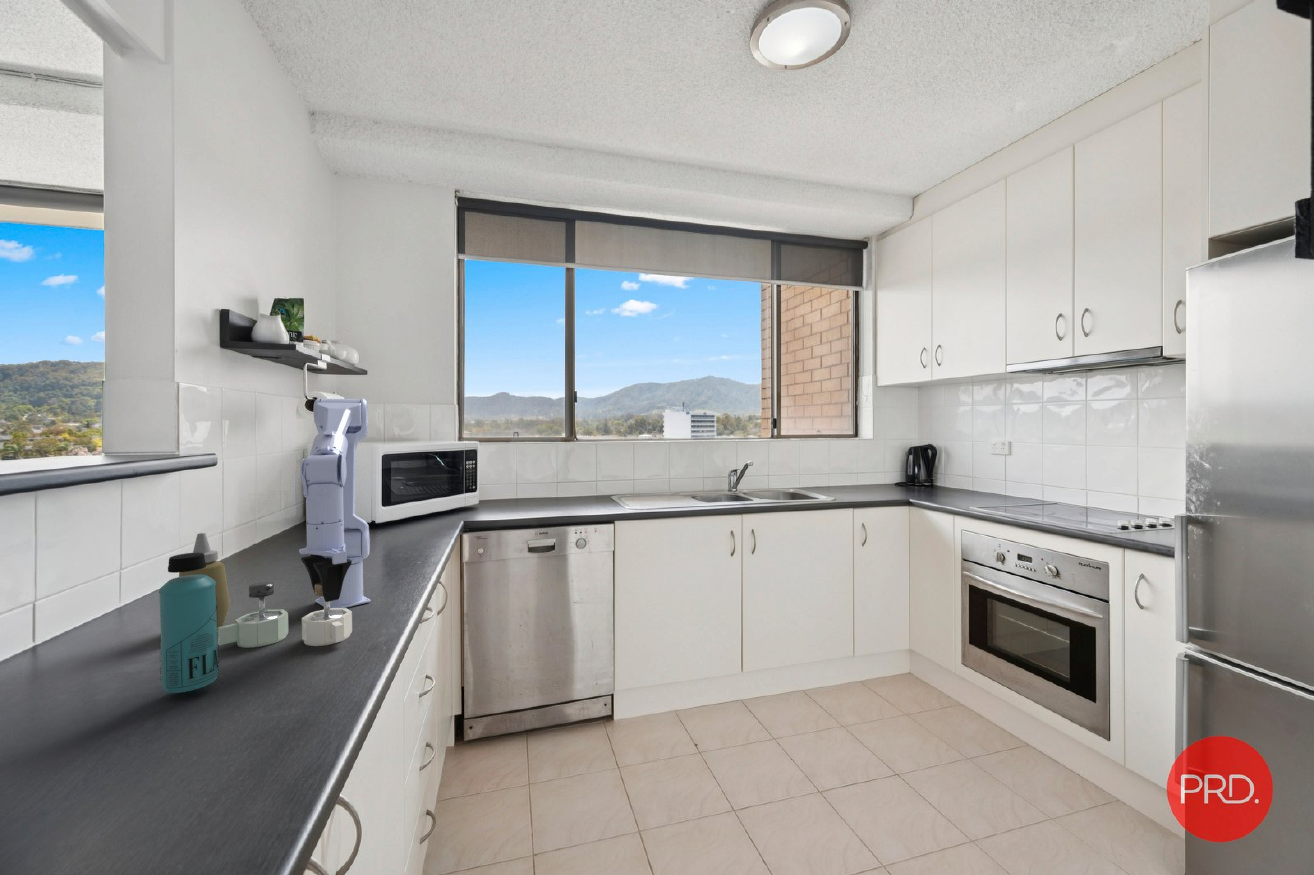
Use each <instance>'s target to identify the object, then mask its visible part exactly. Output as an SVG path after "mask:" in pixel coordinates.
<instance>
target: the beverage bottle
mask: <svg viewBox="0 0 1314 875" xmlns="http://www.w3.org/2000/svg"><path fill="white" fill-rule="evenodd" d="M205 567H206V562H205V556H204V553H193V552H185V553H180V554H175V555H172V556H170V557H169V558H168V567H167V572H168V573H174V574H176V573H177V574H179V572H188V571H194V570H199V569H202V568H205ZM215 585H216V582H215V580H213V579H212V578H210V577H209V576H207V575H187V576H181V577H179V576H178V577H173V578H171V579H169V580H168V581H167V582H165V583H164V584H163V585H162V586H161V587H160V588H159V590H158V595H159V596H158V597H159V616H160V617H159V618H160V619H159V620H160V621H159V622H160V623H159V624H160V640H159V646H160V647H159V648H160V651H159V662H160V667H159V670H160V671H159V672H160V673H159V674H160V675H159V678H160V681H161V682H160V683H159V684H160V685H161V688H162V690H163V691H164V692H165V693H167V694H168V693H169V694H177V693H179V694H180V693H186V692H190V691H194V690H198V689H201V688H204V687H206V686H209V685H211V684H212V683H214V682H215V681H216V680H217V678H218V676H219V674H220V665H219V664H220V661H219V651H220V647H219V646H220V645H219V644H218V637H219V636H218V628H217V626H218V625H217V623H218V622H217V616H216V614H217V613H218V609H217V613H216V593H215ZM217 608H218V606H217Z"/></svg>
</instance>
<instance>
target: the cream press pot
mask: <svg viewBox="0 0 1314 875" xmlns="http://www.w3.org/2000/svg"><path fill="white" fill-rule="evenodd" d="M331 611H340V612H343V615H342V616H341V617H337V618H333V619H329V620H322V621H311V617H313V616H314V615H317V614H320V613H324V609H322V610H315V611H312V612H310V613H308V614H306V615H304V616H303V617H301V640H302V641H303V644H304V645H306V646H309V647H310V646H311V647H320V646H321V647H322V646H323V647H324V646H329V645H333V644H337V643H340V642H344V640H347V639H349V637H350V636H351V633H352V632H353V611H352V610H351V609H348V607H346V608H330V612H331Z"/></svg>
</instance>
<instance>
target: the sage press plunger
mask: <svg viewBox="0 0 1314 875" xmlns="http://www.w3.org/2000/svg"><path fill="white" fill-rule="evenodd" d="M273 594H275V584H274V581H262V582H261V581H259V582H256V583H251V584H250V585H248V597H249V598H252V599H256V598H258V611H259V614H257V615H253V616H250V617H248V618H246V619H245V622H260V621H264V620H269V619H273V618H276V617H278V616H279V614H278V613H265V610H266V598H265V597H269V596H272V595H273Z"/></svg>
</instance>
